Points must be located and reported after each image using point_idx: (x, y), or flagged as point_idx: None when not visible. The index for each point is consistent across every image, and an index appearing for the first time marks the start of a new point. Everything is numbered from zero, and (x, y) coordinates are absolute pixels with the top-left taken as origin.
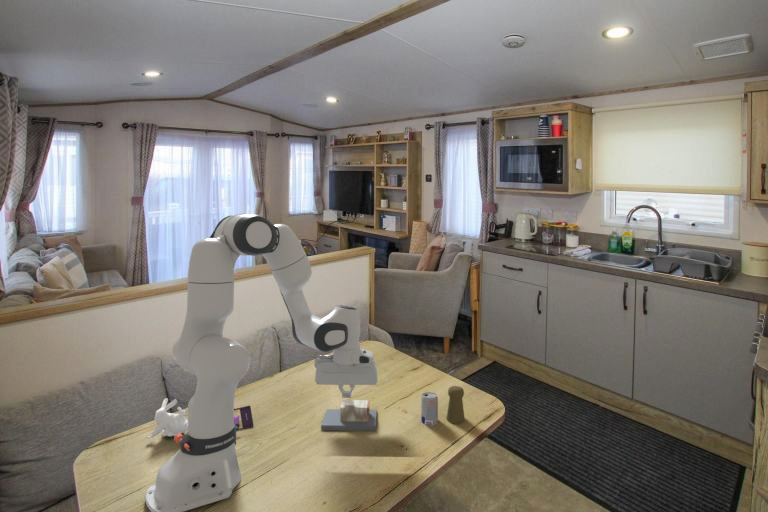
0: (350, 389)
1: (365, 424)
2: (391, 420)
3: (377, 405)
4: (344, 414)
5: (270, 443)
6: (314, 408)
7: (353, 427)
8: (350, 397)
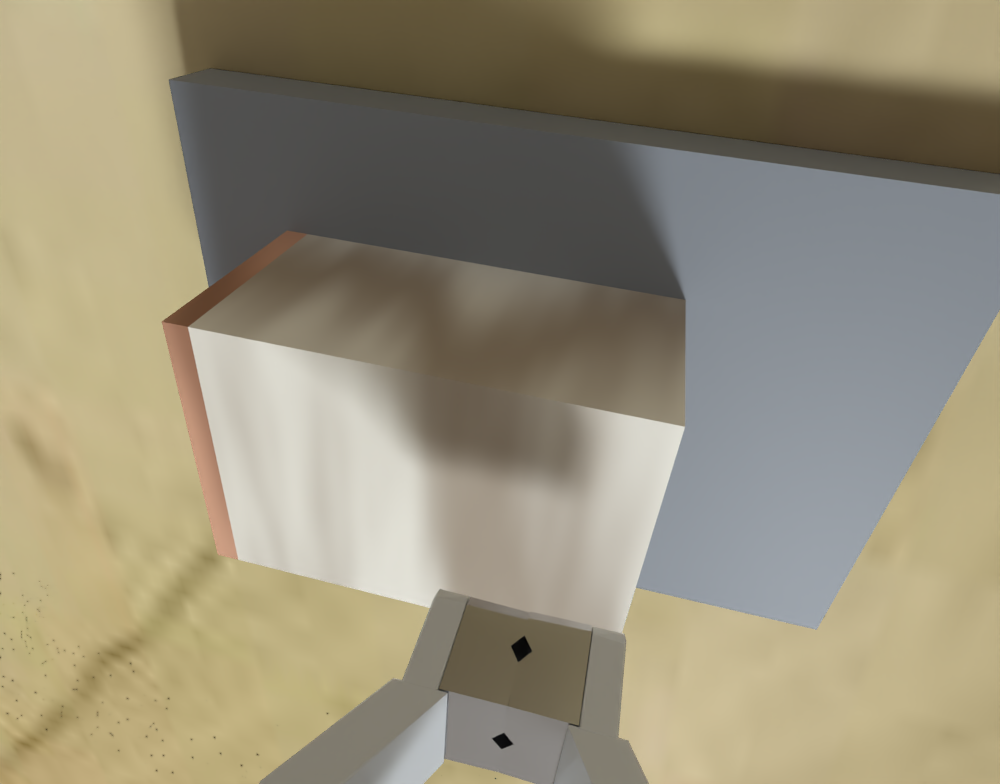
0: (397, 776)
1: (314, 142)
2: (100, 311)
3: (293, 602)
4: (612, 341)
5: None
6: (922, 706)
7: (495, 115)
8: (446, 594)
